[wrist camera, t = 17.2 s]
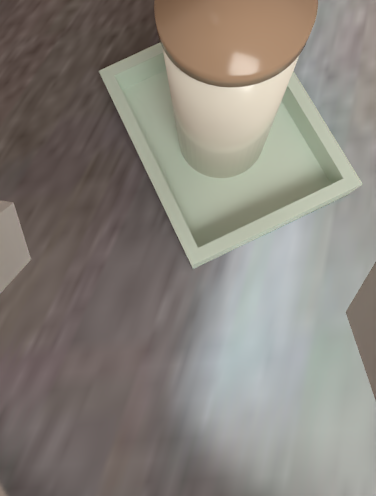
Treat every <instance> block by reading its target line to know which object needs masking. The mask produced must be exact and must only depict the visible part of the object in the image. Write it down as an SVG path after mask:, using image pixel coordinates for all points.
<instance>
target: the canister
mask: <svg viewBox="0 0 376 496" xmlns="http://www.w3.org/2000/svg"><path fill="white" fill-rule="evenodd" d="M317 8H318V0H155V3H154V12H155V20H156V26H157V31H158V36H159V40H160V43H161V45H162V48H163V54H164V60H165V65H166V71H167V77H168V83H169V89H170V94H171V100H172V106H173V112H174V117H175V123H176V129H177V135H178V141H179V146H180V150H181V153H182V155H183V157H184V159H185V160H186V162H187V163H188V164H189V165H190V166H191V167H192V168H193V169H194V170H196V171H197V172H199V173H201V174H203V175H206V176H209V177H213V178H229V177H233V176H236V175H239V174H241V173H243V172H245V171H246V170H248V169H249V168H250V167H251V166H252V165H254V163H255V162H256V161H257V160H258V158H259V156H260V154H261V152H262V150H263V147H264V145H265V142H266V139H267V137H268V134H269V132H270V129H271V127H272V124H273V121H274V119H275V116H276V114H277V111H278V109H279V106H280V103H281V101H282V98H283V96H284V93H285V91H286V88H287V86H288V83H289V80H290V78H291V75H292V73H293V70H294V68H295V65H296V62H297V60H298V57H299V55H300V53H301V52H302V50H303V48H304V47H305V45H306V42H307V40H308V37H309V35H310V32H311V30H312V27H313V25H314V22H315V19H316V15H317Z"/></svg>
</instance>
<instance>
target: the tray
mask: <svg viewBox="0 0 376 496" xmlns="http://www.w3.org/2000/svg"><path fill="white" fill-rule="evenodd" d="M99 73H100V75H101V77H102V79H103V81H104V83H105V86H106V88H107V90H108V92H109V94H110V96H111V98H112V100H113V102H114V104H115V107H116V109H117V111H118V113H119V115H120V117H121V119H122V121H123V123H124V125H125V127H126V130H127V132H128V134H129V136H130V138H131V140H132V142H133V144H134V146H135V148H136V151H137V153H138V155H139V157H140V159H141V161H142V163H143V165H144V167H145V169H146V171H147V174H148V176H149V178H150V180H151V182H152V184H153V186H154V188H155V190H156V192H157V195H158V197H159V199H160V201H161V203H162V205H163V207H164V209H165V211H166V213H167V215H168V218H169V220H170V222H171V224H172V226H173V228H174V230H175V232H176V234H177V236H178V238H179V241H180V243H181V245H182V247H183V249H184V251H185V253H186V255H187V257H188V259H189V262H190V264H191V266H192V268H193V269H194V268H196V267H198V266H200V265H203V264H205V263H207V262H209V261H211V260H213V259H215V258H217V257H219V256H221V255H223V254H226V253H228V252H230V251H232V250H234V249H236V248H238V247H240V246H242V245H244V244H246V243H248V242H251V241H253V240H255V239H257V238H259V237H261V236H263V235H265V234H267V233H269V232H271V231H274V230H276V229H278V228H280V227H282V226H284V225H286V224H288V223H290V222H292V221H294V220H297V219H299V218H301V217H303V216H305V215H307V214H309V213H311V212H313V211H315V210H317V209H320V208H322V207H324V206H326V205H328V204H330V203H332V202H334V201H336V200H338V199H340V198H343V197H345V196H347V195H348V194H350V193H351V192H352V191H354V190H355V189H357V188H358V187H359V186H361V185H362V182H361V181H360V179H359V177H358V176H357V174H356V172H355V171H354V169H353V168H352V166H351V164H350V163H349V161H348V159H347V158H346V156H345V154H344V153H343V151H342V150H341V148H340V146H339V145H338V143H337V141H336V140H335V138H334V137H333V135H332V133H331V132H330V130H329V128H328V127H327V125H326V123H325V122H324V120H323V119H322V117H321V115H320V114H319V112H318V110H317V109H316V107H315V105H314V104H313V102H312V101H311V99H310V97H309V96H308V94H307V92H306V91H305V89H304V88H303V86H302V84H301V83H300V81H299V79H298V78H297V76H296V74H295V73H294V71H293V73H292V75H291V78H290V80H289V83H288V86H287V88H286V91H285V93H284V96H283V98H282V101H281V103H280V106H279V109H278V111H277V114H276V116H275V119H274V121H273V124H272V127H271V129H270V132H269V134H268V137H267V139H266V142H265V145H264V147H263V150H262V152H261V154H260V156H259V158H258V160H257V161H256V162H255V163H254V165H252V166H251V167H250V168H249V169H248V170H246V171H245V172H243V173H241V174H239V175H236V176H233V177H229V178H213V177H209V176H206V175H203V174H201V173H199V172H197V171H196V170H194V169H193V168H192V167H191V166H190V165H189V164H188V163H187V162H186V160H185V159H184V157H183V155H182V153H181V150H180V146H179V141H178V135H177V129H176V123H175V117H174V112H173V106H172V100H171V94H170V89H169V83H168V77H167V71H166V65H165V60H164V54H163V48H162V45H161V43H158V44H156V45H153V46H151V47H149V48H147V49H145V50H143V51H141V52H138V53H136V54H134V55H132V56H130V57H128V58H125V59H123V60H121V61H119V62H117V63H115V64H113V65H110V66H108V67H106V68H104V69H102V70H100V71H99Z"/></svg>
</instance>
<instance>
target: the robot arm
mask: <svg viewBox="0 0 376 496" xmlns="http://www.w3.org/2000/svg"><path fill="white" fill-rule="evenodd" d="M30 260H31V258H30V255H29V251H28V248H27V245H26V242H25V238H24V235H23V232H22V228H21V225H20V222H19V219H18V215H17V212H16V209H15V206H14V203H13V202H6V201H0V293H1V292H2V291H3V290H4V289H5V288H6V287H7V286H8V284H9V283H10V282H11V281H12V280H13V279H14V278H15V277H16V276H17V274H18V273H19V272H20V271H21V270H22V269H23V268H24V267H25V266H26V265H27V263H28V262H29V261H30ZM346 314H347V317H348V320H349V323H350V326H351V329H352V332H353V335H354V338H355V341H356V344H357V347H358V350H359V353H360V355H361V358H362V361H363V364H364V367H365V370H366V373H367V376H368V379H369V382H370V385H371V388H372V391H373V394H374V397H375V400H376V262H375V264H374V266H373V267H372V269H371V271H370V272H369V274H368V276H367V277H366V279H365V281H364V283H363V284H362V286H361V288H360V289H359V291H358V293H357V294H356V296H355V298H354V299H353V301H352V303H351V304H350V306H349V308H348V309H347V311H346Z"/></svg>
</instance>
